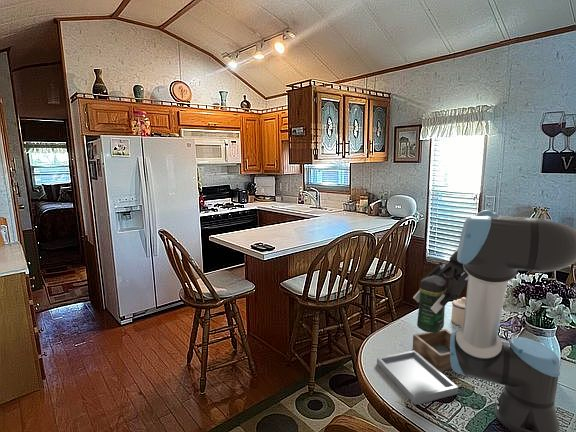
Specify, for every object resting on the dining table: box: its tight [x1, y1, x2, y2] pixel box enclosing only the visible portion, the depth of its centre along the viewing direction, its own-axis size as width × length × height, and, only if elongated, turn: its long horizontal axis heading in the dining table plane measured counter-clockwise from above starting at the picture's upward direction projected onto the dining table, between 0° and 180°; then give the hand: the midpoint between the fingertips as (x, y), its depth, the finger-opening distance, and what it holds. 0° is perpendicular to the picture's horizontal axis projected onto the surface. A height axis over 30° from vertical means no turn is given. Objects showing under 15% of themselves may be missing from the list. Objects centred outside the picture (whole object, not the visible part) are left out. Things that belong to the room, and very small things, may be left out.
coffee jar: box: [416, 275, 448, 333], centre depth 123 cm, size 10×8×19 cm
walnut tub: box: [412, 328, 453, 372], centre depth 132 cm, size 15×15×6 cm
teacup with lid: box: [450, 296, 466, 327], centre depth 158 cm, size 12×9×12 cm
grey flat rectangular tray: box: [376, 349, 459, 406], centre depth 120 cm, size 22×16×2 cm
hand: (424, 305), depth 123 cm, fingers closed on coffee jar, 9 cm apart
